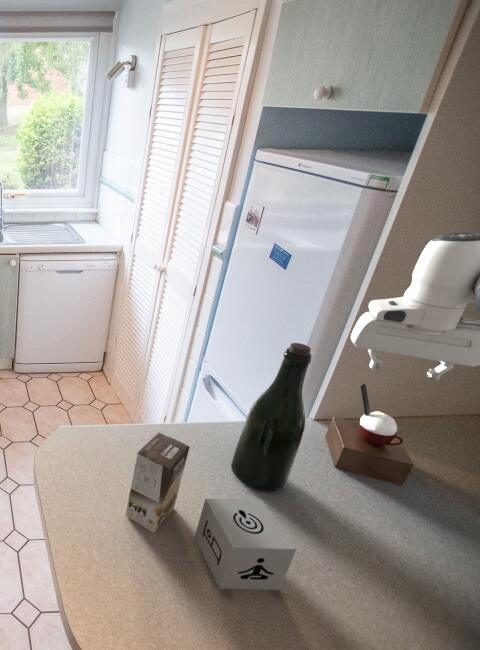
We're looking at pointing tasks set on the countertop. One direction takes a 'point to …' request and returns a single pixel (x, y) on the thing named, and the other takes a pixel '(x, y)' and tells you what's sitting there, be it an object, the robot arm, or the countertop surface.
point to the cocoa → (376, 425)
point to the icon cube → (243, 544)
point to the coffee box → (156, 481)
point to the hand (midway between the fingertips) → (402, 373)
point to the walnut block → (366, 454)
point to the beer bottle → (274, 426)
